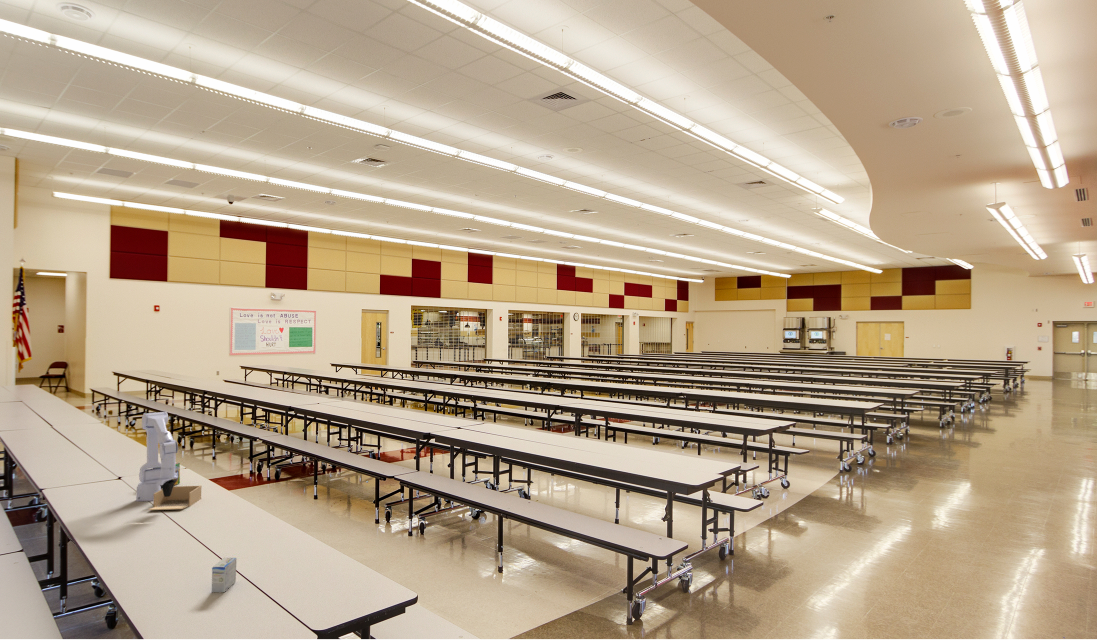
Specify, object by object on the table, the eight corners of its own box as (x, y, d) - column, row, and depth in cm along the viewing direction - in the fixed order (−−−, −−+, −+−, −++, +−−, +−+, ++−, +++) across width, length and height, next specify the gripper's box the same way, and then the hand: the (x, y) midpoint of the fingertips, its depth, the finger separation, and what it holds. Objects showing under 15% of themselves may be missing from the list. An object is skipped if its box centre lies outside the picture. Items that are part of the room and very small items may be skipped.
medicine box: (222, 582, 194) (223, 557, 194) (236, 582, 194) (236, 557, 194) (211, 593, 186) (211, 567, 186) (225, 592, 186) (225, 566, 186)
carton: (153, 509, 266) (153, 493, 266) (166, 501, 278) (166, 486, 278) (190, 507, 269) (190, 492, 269) (201, 500, 281) (201, 485, 281)
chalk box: (180, 483, 308) (180, 456, 308) (167, 488, 298) (167, 460, 298) (164, 483, 308) (165, 456, 309) (151, 487, 299) (151, 460, 299)
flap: (155, 507, 266) (148, 510, 260) (155, 506, 266) (148, 509, 260) (188, 506, 269) (181, 509, 262) (188, 505, 269) (181, 508, 262)
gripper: (169, 471, 257) (169, 500, 257) (184, 463, 271) (184, 491, 271) (152, 471, 256) (152, 501, 255) (168, 463, 270) (168, 491, 270)
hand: (167, 496), depth 263 cm, fingers closed
